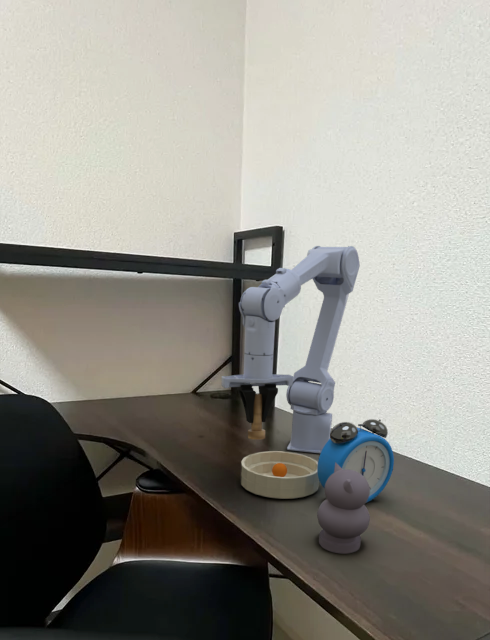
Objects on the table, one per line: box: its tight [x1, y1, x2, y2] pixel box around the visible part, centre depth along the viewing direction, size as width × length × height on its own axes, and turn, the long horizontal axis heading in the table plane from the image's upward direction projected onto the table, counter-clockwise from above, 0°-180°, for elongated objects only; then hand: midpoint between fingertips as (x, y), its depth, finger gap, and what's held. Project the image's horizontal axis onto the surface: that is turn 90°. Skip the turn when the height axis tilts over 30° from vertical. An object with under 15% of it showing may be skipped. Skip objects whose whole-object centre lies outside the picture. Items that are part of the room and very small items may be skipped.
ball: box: [272, 463, 287, 477], centre depth 103 cm, size 3×3×3 cm
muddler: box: [247, 392, 266, 440], centre depth 106 cm, size 4×4×9 cm
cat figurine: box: [316, 462, 371, 554], centre depth 78 cm, size 9×8×12 cm
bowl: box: [240, 450, 320, 500], centre depth 100 cm, size 15×15×4 cm
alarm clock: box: [317, 418, 395, 504], centre depth 93 cm, size 13×6×15 cm, turn 118°
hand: (256, 421), depth 107 cm, fingers closed on muddler, 2 cm apart
